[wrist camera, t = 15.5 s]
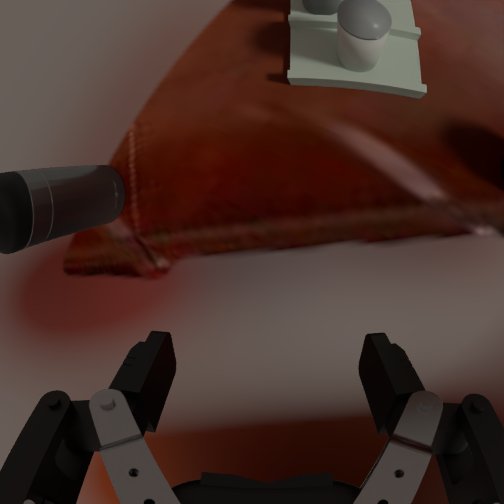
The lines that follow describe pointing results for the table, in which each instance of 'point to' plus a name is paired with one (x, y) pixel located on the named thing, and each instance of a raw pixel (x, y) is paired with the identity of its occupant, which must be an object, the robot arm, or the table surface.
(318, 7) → the grey cylinder
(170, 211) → the table surface
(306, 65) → the divided tray
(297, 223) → the table surface
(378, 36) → the white cylinder
